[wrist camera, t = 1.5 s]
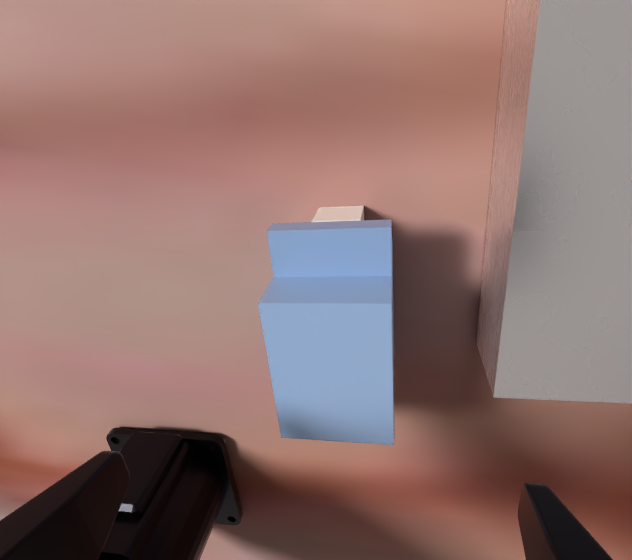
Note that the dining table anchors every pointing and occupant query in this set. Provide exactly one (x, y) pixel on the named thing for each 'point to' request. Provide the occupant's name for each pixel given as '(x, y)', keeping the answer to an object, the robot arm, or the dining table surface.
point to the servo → (332, 327)
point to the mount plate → (561, 206)
